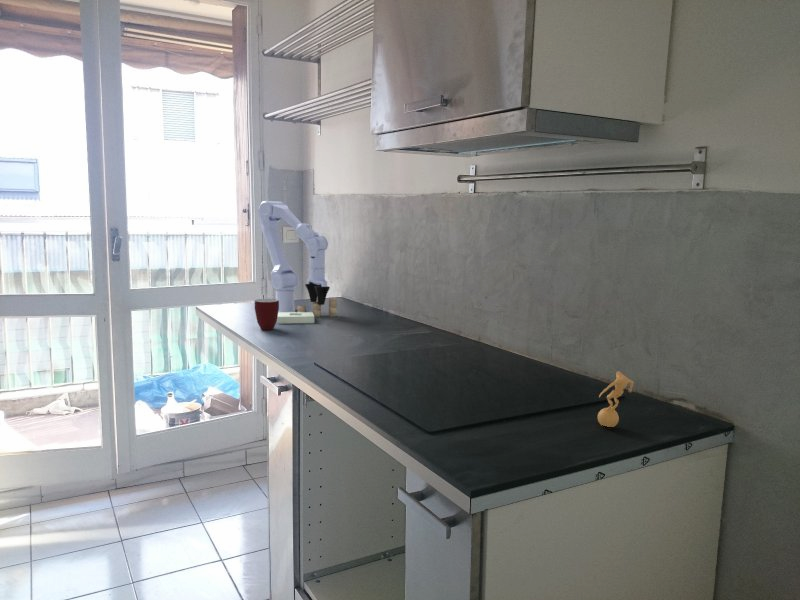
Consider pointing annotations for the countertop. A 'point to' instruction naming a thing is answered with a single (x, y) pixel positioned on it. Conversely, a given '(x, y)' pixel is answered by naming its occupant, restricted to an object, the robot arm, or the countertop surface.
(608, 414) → the figurine
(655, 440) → the countertop surface
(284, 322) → the board
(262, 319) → the mug
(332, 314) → the dowel long
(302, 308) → the dowel short
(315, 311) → the dowel medium
